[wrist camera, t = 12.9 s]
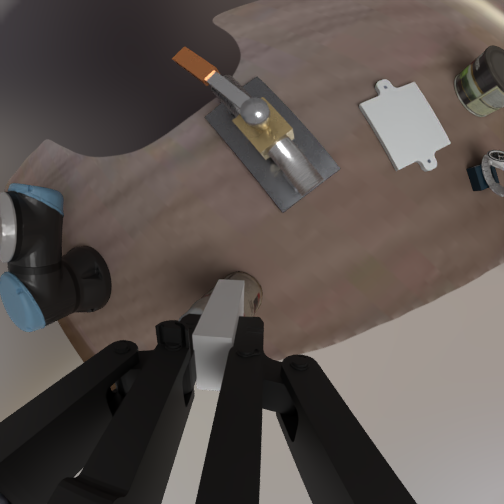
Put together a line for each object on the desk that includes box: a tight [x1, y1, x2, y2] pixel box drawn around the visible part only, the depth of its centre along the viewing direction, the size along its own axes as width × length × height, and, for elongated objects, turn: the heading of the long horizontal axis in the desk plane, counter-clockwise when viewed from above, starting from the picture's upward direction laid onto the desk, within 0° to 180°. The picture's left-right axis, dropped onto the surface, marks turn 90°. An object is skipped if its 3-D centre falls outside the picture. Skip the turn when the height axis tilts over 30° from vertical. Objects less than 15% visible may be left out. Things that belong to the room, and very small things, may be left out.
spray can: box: [179, 271, 262, 321], centre depth 41 cm, size 8×8×20 cm
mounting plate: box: [359, 79, 451, 171], centre depth 40 cm, size 18×13×2 cm
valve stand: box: [205, 75, 340, 213], centre depth 39 cm, size 22×12×14 cm, turn 38°
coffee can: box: [454, 46, 504, 117], centre depth 29 cm, size 10×10×14 cm
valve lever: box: [172, 47, 270, 127], centre depth 31 cm, size 17×3×2 cm, turn 45°
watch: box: [467, 150, 504, 197], centre depth 33 cm, size 6×8×11 cm
